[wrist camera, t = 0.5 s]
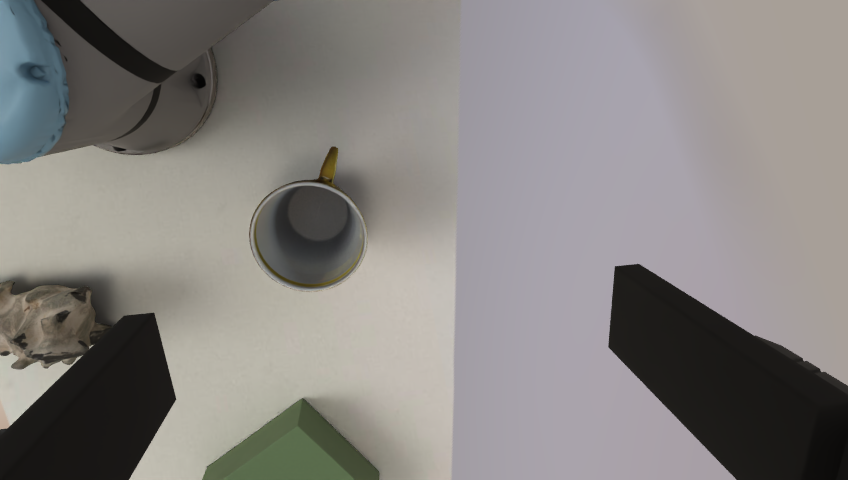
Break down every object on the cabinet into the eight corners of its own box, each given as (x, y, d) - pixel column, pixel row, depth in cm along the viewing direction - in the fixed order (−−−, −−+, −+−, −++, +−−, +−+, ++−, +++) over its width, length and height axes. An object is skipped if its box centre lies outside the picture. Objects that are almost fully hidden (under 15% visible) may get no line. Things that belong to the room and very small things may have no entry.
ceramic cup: (351, 265, 52) (349, 303, 43) (260, 241, 50) (237, 276, 41) (385, 153, 49) (391, 167, 40) (289, 122, 47) (272, 130, 38)
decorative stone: (-56, 262, 44) (65, 242, 53) (-46, 346, 47) (68, 314, 55) (31, 333, 37) (154, 297, 46) (37, 426, 40) (151, 375, 49)
